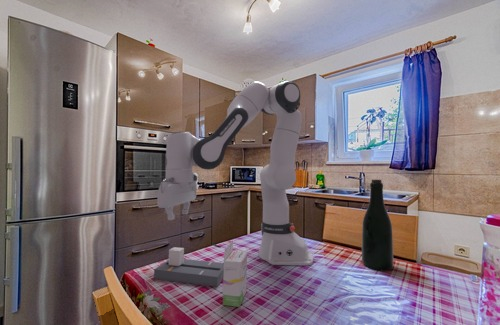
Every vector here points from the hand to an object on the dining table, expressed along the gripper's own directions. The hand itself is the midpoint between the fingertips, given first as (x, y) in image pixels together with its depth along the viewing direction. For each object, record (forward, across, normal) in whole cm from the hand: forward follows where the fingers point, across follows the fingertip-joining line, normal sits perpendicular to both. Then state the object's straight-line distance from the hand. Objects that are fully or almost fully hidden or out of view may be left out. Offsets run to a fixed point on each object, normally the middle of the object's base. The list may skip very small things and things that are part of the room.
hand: (178, 216), depth 77 cm
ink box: (+20, -10, -24) cm, 32 cm away
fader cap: (+18, -1, 0) cm, 18 cm away
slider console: (+19, -1, -6) cm, 20 cm away
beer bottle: (+20, +23, -71) cm, 77 cm away
